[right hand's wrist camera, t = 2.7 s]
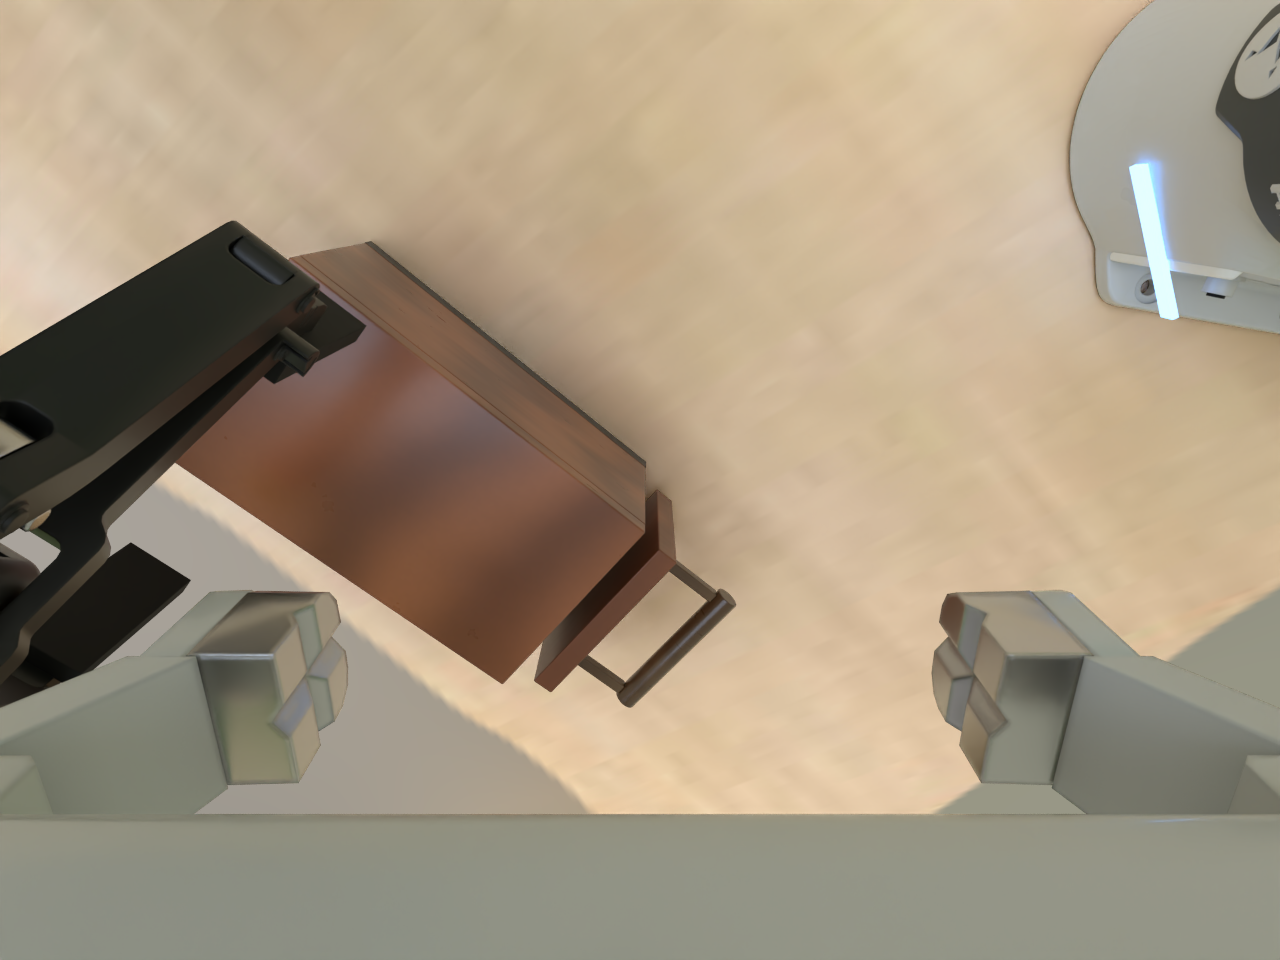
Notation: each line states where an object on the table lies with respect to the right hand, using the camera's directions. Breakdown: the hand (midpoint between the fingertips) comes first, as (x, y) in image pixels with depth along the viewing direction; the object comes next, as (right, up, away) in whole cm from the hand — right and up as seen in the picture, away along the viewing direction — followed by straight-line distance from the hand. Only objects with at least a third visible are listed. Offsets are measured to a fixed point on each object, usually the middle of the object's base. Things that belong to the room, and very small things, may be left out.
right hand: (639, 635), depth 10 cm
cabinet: (-11, +5, +35) cm, 37 cm away
